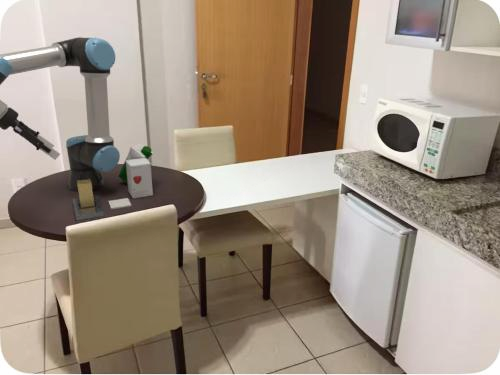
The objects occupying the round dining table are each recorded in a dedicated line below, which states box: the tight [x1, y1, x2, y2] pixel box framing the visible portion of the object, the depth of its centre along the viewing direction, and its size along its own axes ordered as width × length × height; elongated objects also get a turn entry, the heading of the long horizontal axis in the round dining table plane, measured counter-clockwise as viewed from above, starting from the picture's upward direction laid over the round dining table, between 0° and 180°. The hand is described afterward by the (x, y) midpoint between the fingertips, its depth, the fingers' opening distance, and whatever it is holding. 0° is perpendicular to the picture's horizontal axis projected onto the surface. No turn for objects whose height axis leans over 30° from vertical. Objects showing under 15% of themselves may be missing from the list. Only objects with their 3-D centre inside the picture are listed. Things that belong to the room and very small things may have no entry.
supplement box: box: [125, 158, 154, 199], centre depth 184 cm, size 9×9×15 cm
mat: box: [108, 197, 132, 210], centre depth 176 cm, size 8×8×1 cm
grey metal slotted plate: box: [72, 194, 105, 221], centre depth 171 cm, size 18×10×2 cm, turn 25°
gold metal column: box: [77, 179, 96, 209], centre depth 169 cm, size 5×5×12 cm
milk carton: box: [117, 142, 154, 185], centre depth 194 cm, size 9×9×20 cm
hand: (54, 152), depth 157 cm, fingers open, 13 cm apart
